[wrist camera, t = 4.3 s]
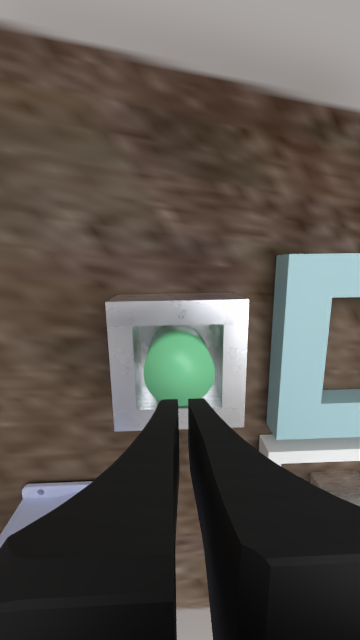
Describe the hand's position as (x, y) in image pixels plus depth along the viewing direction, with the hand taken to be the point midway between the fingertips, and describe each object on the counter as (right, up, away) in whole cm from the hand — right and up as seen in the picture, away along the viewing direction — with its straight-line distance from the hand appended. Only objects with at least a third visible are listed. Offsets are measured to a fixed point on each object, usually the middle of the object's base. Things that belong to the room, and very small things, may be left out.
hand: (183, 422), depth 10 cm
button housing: (0, +2, +9) cm, 9 cm away
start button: (0, +2, +8) cm, 8 cm away
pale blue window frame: (+13, +2, +10) cm, 16 cm away
